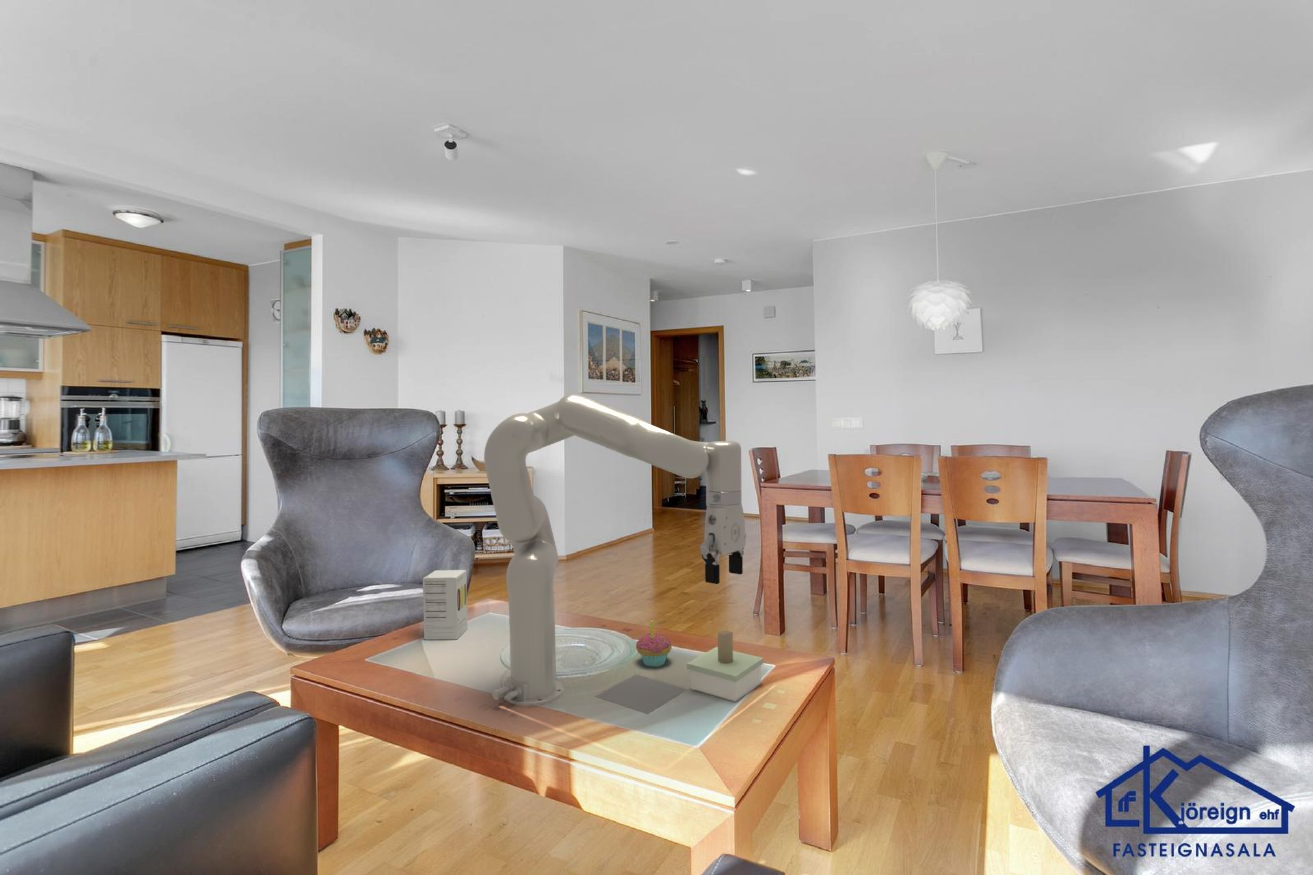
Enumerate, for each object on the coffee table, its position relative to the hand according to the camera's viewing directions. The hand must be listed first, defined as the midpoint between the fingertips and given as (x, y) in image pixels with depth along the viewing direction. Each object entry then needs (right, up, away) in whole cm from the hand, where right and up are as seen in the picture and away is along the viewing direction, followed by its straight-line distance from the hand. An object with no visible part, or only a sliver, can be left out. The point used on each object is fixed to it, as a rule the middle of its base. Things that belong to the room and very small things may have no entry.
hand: (724, 577), depth 138 cm
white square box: (0, -24, +1) cm, 24 cm away
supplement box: (-72, -24, +39) cm, 85 cm away
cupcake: (-15, -24, +15) cm, 32 cm away
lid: (0, -19, +1) cm, 19 cm away
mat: (-18, -25, -2) cm, 30 cm away
